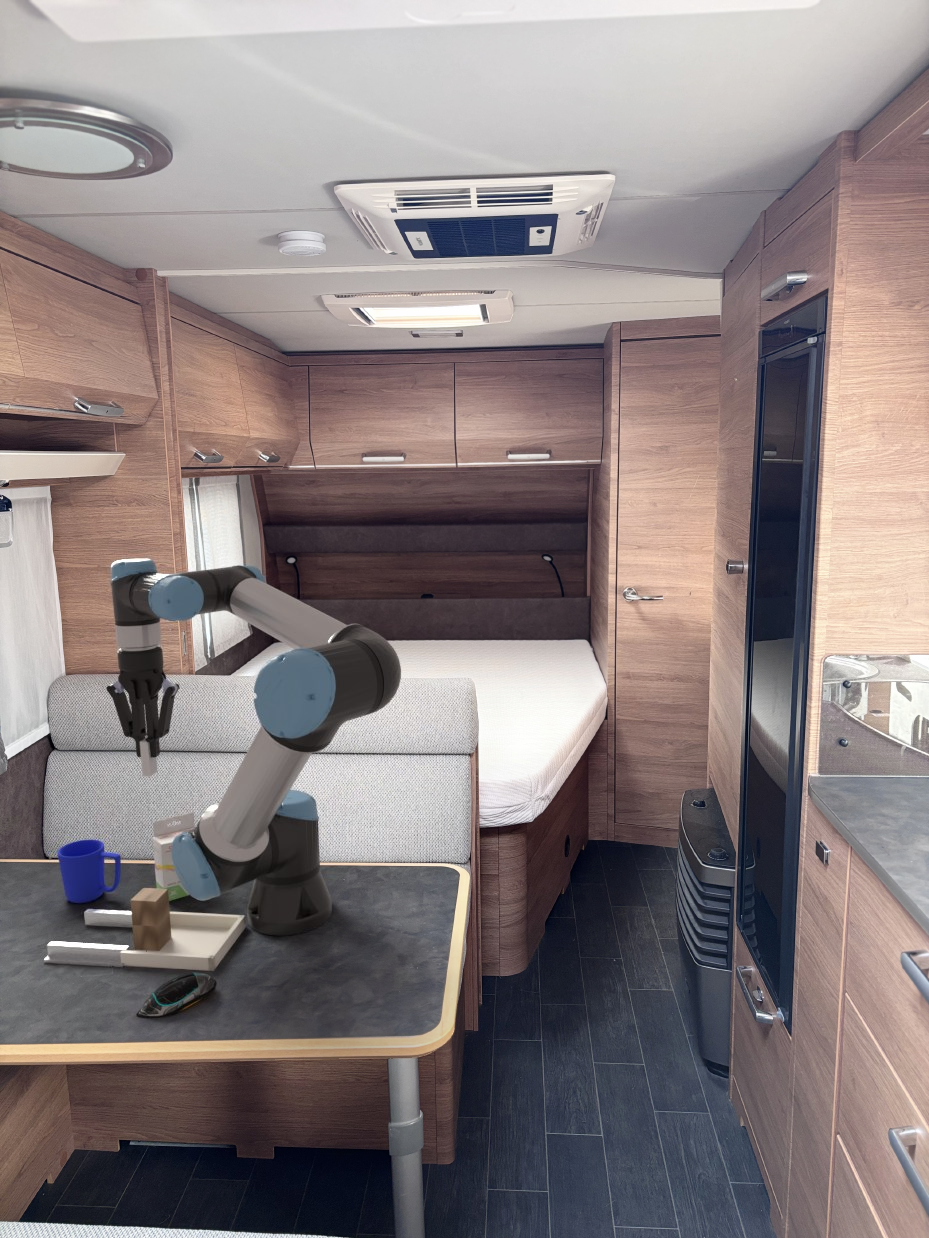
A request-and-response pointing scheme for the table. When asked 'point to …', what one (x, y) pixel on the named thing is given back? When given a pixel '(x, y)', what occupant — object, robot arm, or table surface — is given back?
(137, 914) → the brown shipping carton
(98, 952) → the slot rails
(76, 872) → the mug
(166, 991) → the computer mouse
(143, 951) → the tray
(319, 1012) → the table surface
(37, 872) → the table surface
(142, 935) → the tan cardboard cube
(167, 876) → the ink box
